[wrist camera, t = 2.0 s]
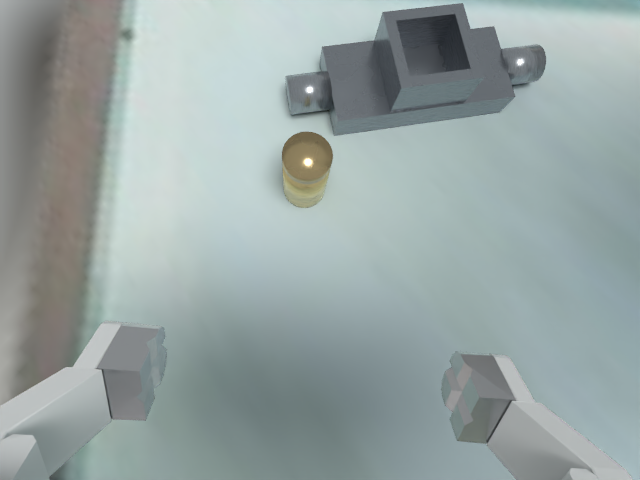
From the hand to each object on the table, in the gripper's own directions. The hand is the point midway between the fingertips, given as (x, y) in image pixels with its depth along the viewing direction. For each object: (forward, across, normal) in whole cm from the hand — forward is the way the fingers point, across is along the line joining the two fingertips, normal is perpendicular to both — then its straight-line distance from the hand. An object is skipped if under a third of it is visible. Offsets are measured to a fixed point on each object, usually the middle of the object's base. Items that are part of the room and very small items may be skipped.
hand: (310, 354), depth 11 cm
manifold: (+36, -10, -2) cm, 38 cm away
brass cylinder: (+29, 0, +7) cm, 30 cm away
